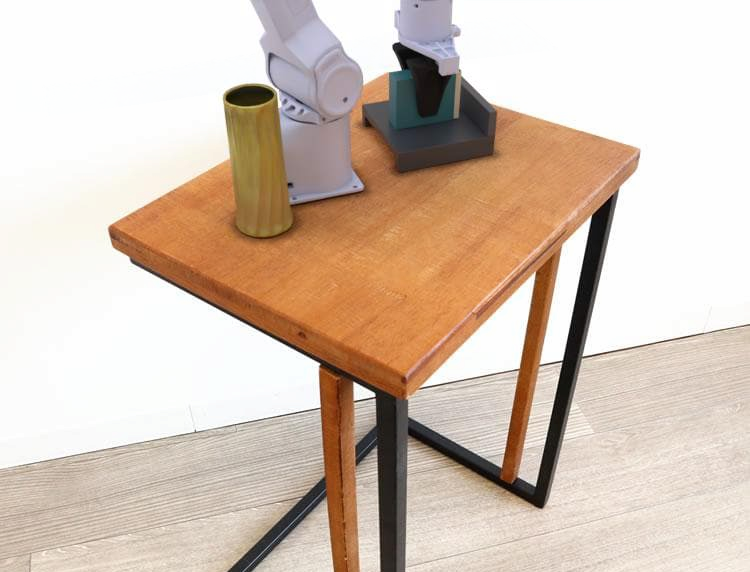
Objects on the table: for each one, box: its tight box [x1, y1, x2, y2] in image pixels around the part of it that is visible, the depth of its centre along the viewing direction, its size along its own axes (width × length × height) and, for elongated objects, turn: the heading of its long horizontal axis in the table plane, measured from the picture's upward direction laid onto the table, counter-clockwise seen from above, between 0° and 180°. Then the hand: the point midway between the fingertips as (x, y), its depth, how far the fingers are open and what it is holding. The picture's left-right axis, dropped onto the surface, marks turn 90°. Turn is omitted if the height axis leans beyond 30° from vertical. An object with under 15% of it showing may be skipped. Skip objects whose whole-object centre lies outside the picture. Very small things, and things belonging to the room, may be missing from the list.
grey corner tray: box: [361, 75, 498, 174], centre depth 101 cm, size 12×13×6 cm
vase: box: [222, 82, 295, 238], centre depth 85 cm, size 6×6×14 cm
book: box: [388, 68, 462, 130], centre depth 99 cm, size 3×8×6 cm, turn 110°
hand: (423, 109), depth 100 cm, fingers closed on book, 3 cm apart
